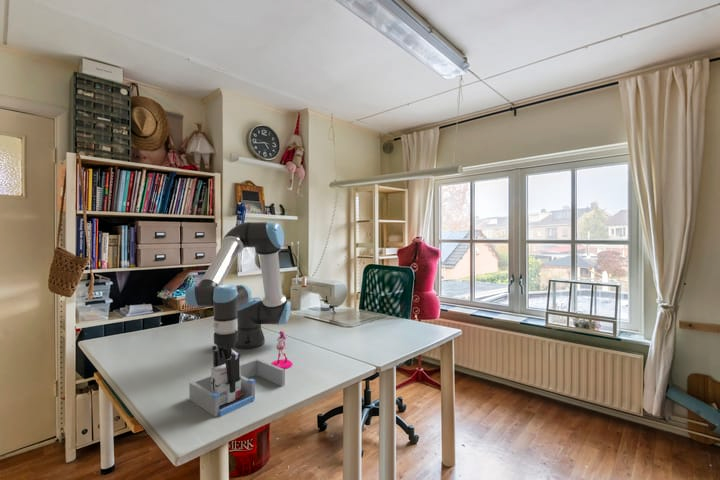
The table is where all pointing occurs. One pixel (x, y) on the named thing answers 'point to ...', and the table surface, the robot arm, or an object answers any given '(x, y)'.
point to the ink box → (223, 383)
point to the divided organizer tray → (210, 401)
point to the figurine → (280, 346)
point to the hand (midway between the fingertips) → (226, 398)
